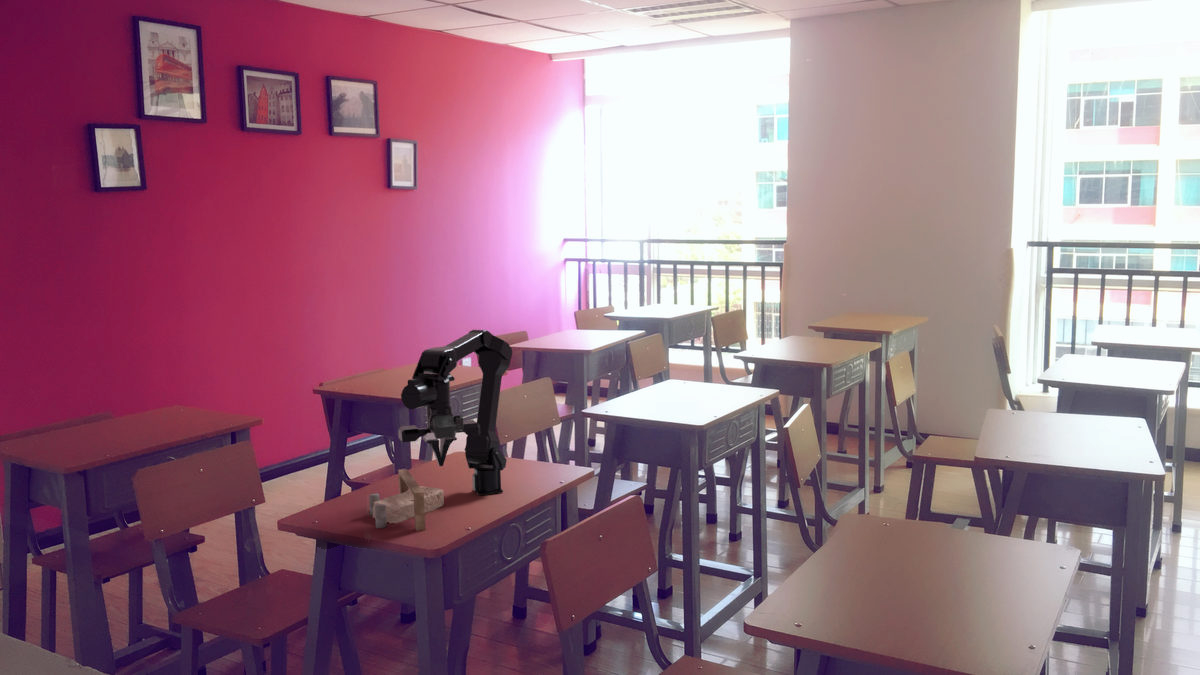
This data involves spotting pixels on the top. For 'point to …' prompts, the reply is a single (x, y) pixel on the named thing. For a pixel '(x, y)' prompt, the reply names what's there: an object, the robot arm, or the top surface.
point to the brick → (409, 504)
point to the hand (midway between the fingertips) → (440, 465)
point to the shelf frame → (404, 484)
